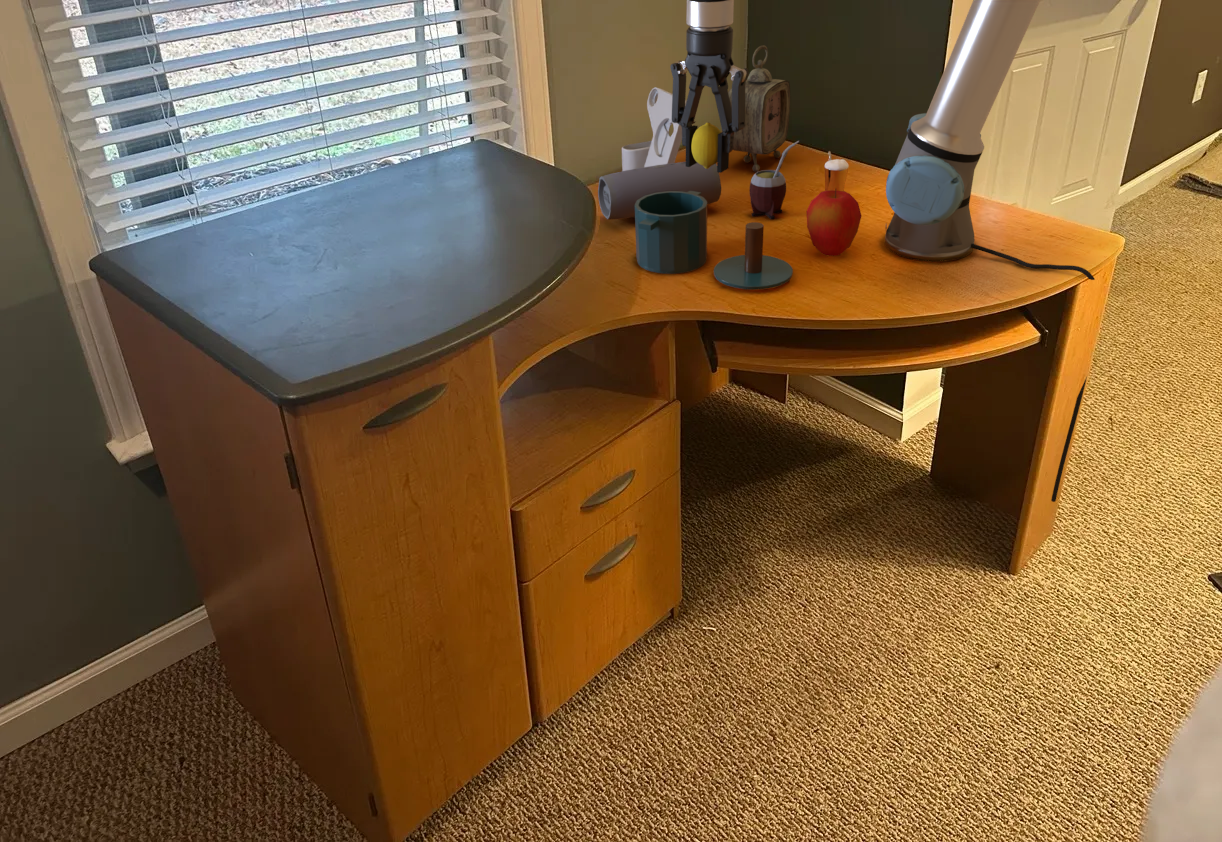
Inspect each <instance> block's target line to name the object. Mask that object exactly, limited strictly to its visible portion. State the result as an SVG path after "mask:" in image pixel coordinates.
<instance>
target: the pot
mask: <svg viewBox="0 0 1222 842" xmlns="http://www.w3.org/2000/svg"><path fill="white" fill-rule="evenodd" d="M634 223H635V224H634V225H635V226H634V227H635V229H634V230H635V254H636V255H635V257H636V262H637V265H638V266H639V267H640V268H642V269H644V270H646V271H648V272H651V273H656V274H662V275H663V274H665V275H667V274H668V275H675V274H685V273H688V272H692V271H695V270H698V269H700V268H702V267H703V266H704V265H705V264H706V263H707V257H708V204H707V201H706V200H705V198H704V197H702V196H701V192H695V191H688V192H683V191H666V192H658V193H653V194H649V195H646V196H643V197H642V198H640V199H638V200H637V201H636V203H635V218H634Z"/></svg>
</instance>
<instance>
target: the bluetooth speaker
mask: <svg viewBox="0 0 1222 842" xmlns="http://www.w3.org/2000/svg"><path fill="white" fill-rule="evenodd" d="M666 191H683V192H688V191H695V192H701V196H702V197H704V198H705V200H706V201H707V205H711V204H714V203H717V202H718V201H720V198H721V195H722V183H721V176H720V173H719V172H717V163H715V164H714V165H711V167H710V168H708V169H706V168H705V167H704V166H703V165H700V164H699V163H696V164H694V165H692V166H691V167H686V161H679V162H675V163H670V164H663V165H655V166H649V167H643V168H637V169H632V170H627V171H622V170H621V171H617V172H613V173H608V174H605V175H602V176H599V180H598V188H597V197H598V203H599V207H600V208H599V209H600V212H601V214H602V215H603V216H604V218H605V219H606V220H621V219H633V218H634V219H635V203H636V201H637V200H638V199H640V198H642V197H643V196H646V195H649V194H653V193H658V192H666Z"/></svg>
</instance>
